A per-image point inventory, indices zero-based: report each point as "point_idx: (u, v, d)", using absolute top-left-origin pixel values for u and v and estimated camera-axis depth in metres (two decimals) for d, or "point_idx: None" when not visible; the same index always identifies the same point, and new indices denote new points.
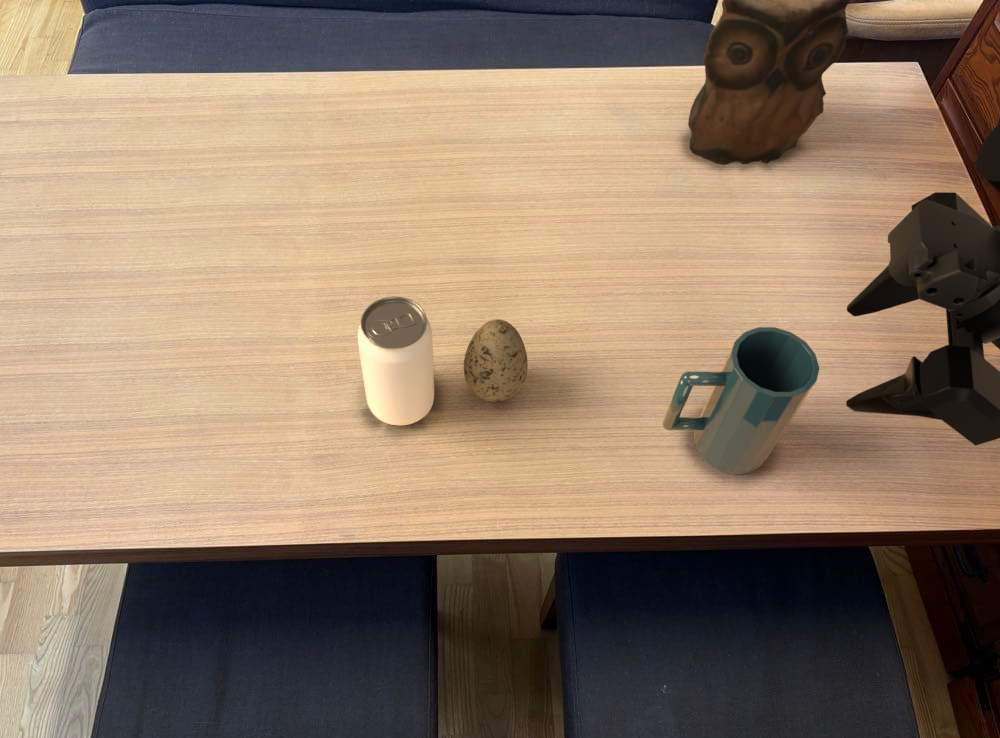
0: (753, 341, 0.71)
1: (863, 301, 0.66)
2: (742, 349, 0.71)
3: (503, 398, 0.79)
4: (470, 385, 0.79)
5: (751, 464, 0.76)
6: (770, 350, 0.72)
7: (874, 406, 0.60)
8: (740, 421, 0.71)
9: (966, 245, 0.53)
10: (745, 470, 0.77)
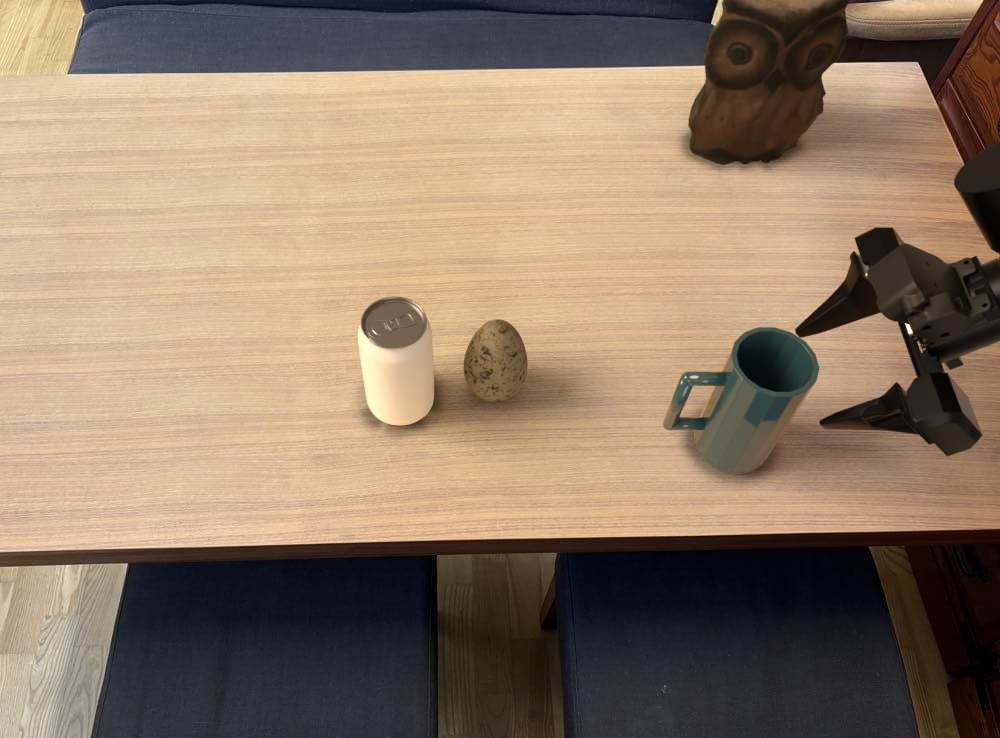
0: (753, 341, 0.71)
1: (812, 324, 0.72)
2: (742, 349, 0.71)
3: (503, 398, 0.79)
4: (470, 385, 0.79)
5: (751, 464, 0.76)
6: (770, 350, 0.72)
7: (847, 424, 0.67)
8: (740, 421, 0.71)
9: (941, 284, 0.60)
10: (745, 470, 0.77)
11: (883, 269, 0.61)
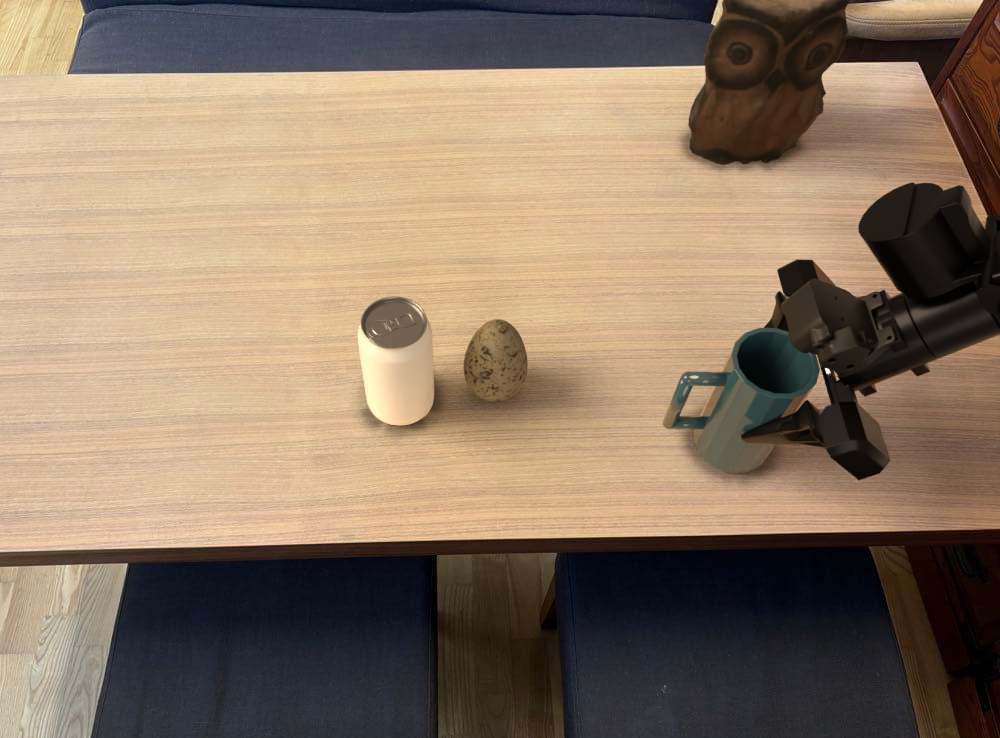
0: (754, 341, 0.71)
1: None
2: (743, 349, 0.71)
3: (503, 398, 0.79)
4: (470, 385, 0.79)
5: (751, 464, 0.76)
6: (771, 350, 0.72)
7: (766, 439, 0.70)
8: (740, 421, 0.71)
9: (849, 317, 0.63)
10: (745, 470, 0.77)
11: (794, 303, 0.64)
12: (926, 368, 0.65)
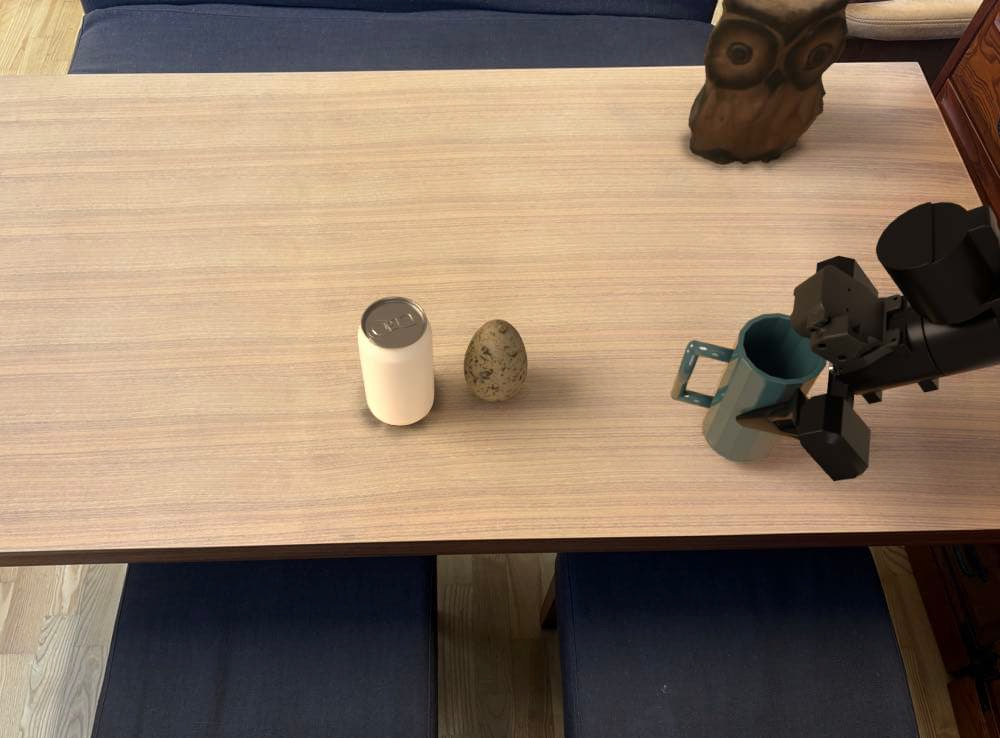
0: (771, 326, 0.70)
1: None
2: (759, 332, 0.71)
3: (503, 398, 0.79)
4: (470, 385, 0.79)
5: (748, 454, 0.75)
6: (789, 341, 0.71)
7: (758, 424, 0.69)
8: (736, 402, 0.70)
9: (856, 311, 0.61)
10: (743, 459, 0.76)
11: (805, 286, 0.63)
12: (934, 385, 0.62)
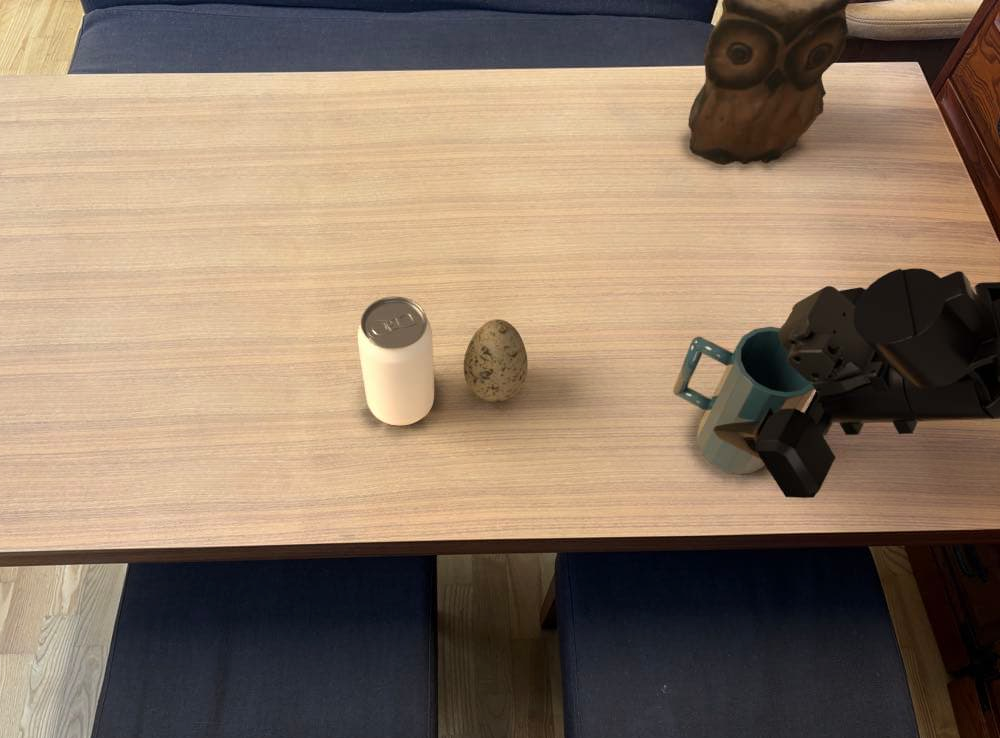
0: (778, 341, 0.71)
1: None
2: (765, 345, 0.72)
3: (503, 398, 0.79)
4: (470, 385, 0.79)
5: (731, 462, 0.76)
6: None
7: (732, 438, 0.70)
8: (725, 404, 0.72)
9: (844, 335, 0.62)
10: (726, 468, 0.77)
11: (803, 302, 0.64)
12: (908, 427, 0.62)
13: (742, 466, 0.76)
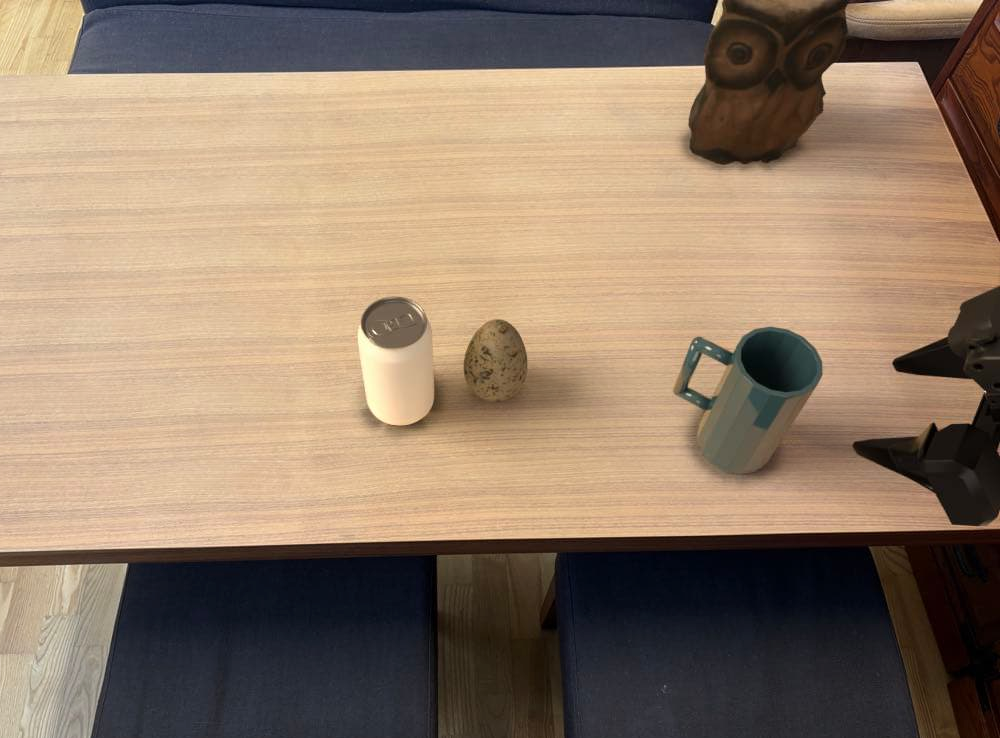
0: (778, 341, 0.71)
1: (911, 360, 0.66)
2: (765, 345, 0.72)
3: (503, 398, 0.79)
4: (470, 385, 0.79)
5: (731, 462, 0.76)
6: (793, 360, 0.72)
7: (877, 456, 0.62)
8: (725, 404, 0.72)
9: None
10: (726, 468, 0.77)
11: (976, 301, 0.55)
12: None
13: (742, 466, 0.76)
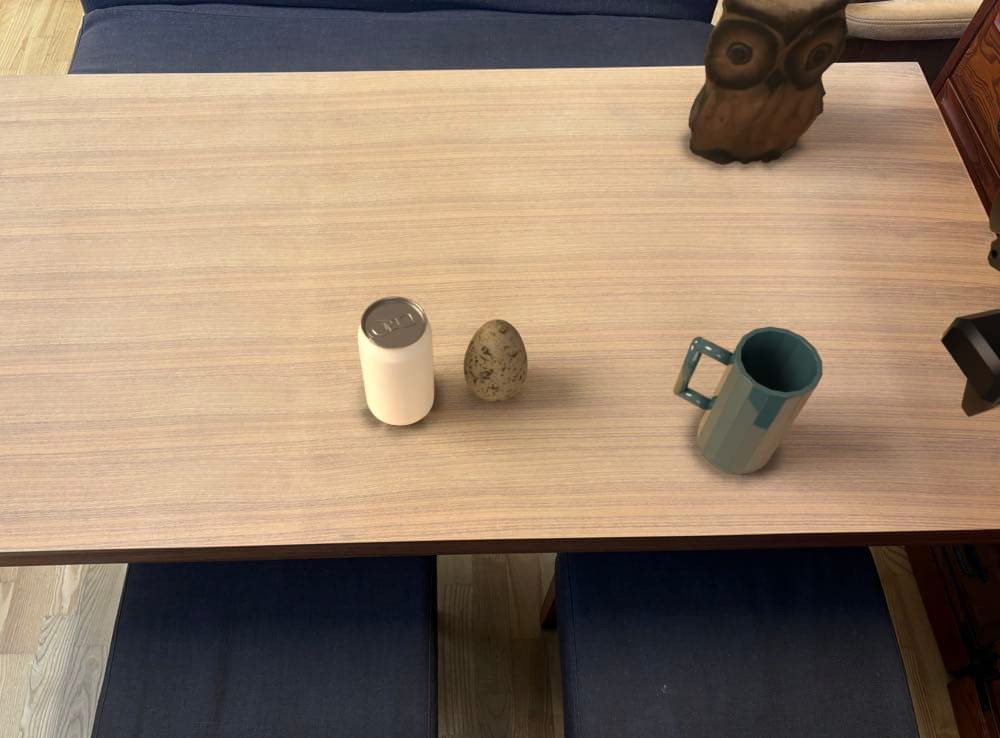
0: (778, 341, 0.71)
1: None
2: (765, 345, 0.72)
3: (503, 398, 0.79)
4: (470, 385, 0.79)
5: (731, 462, 0.76)
6: (793, 360, 0.72)
7: (971, 400, 0.64)
8: (725, 404, 0.72)
9: None
10: (726, 468, 0.77)
11: None
12: None
13: (742, 466, 0.76)
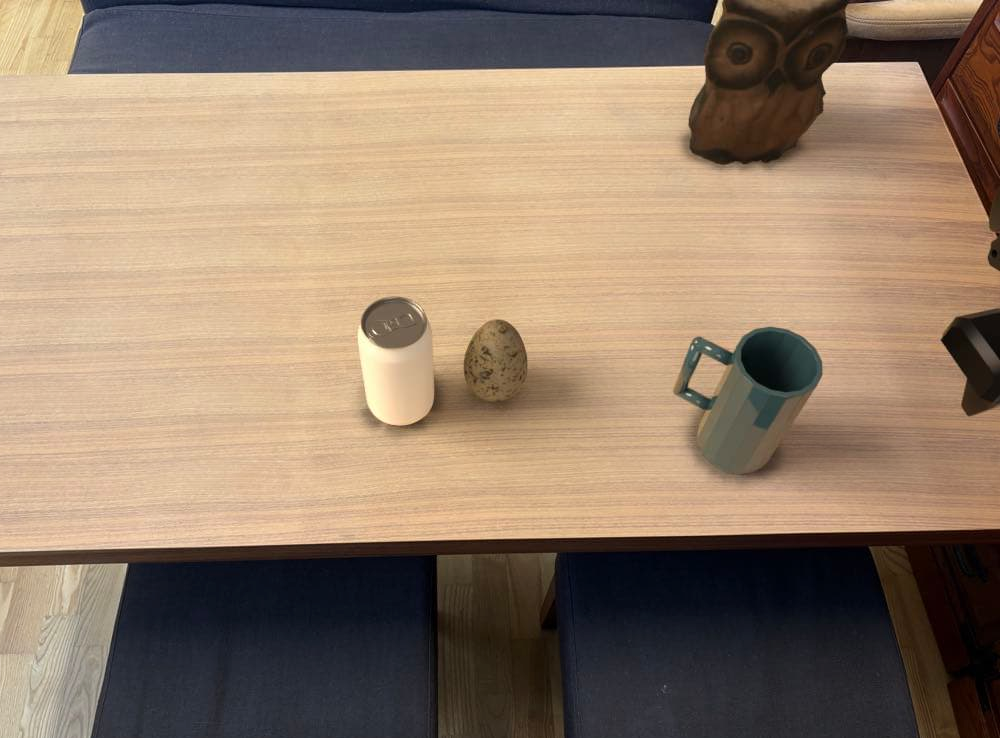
0: (778, 341, 0.71)
1: None
2: (765, 345, 0.72)
3: (503, 398, 0.79)
4: (470, 385, 0.79)
5: (731, 462, 0.76)
6: (793, 360, 0.72)
7: (971, 400, 0.64)
8: (725, 404, 0.72)
9: None
10: (726, 468, 0.77)
11: None
12: None
13: (742, 466, 0.76)
